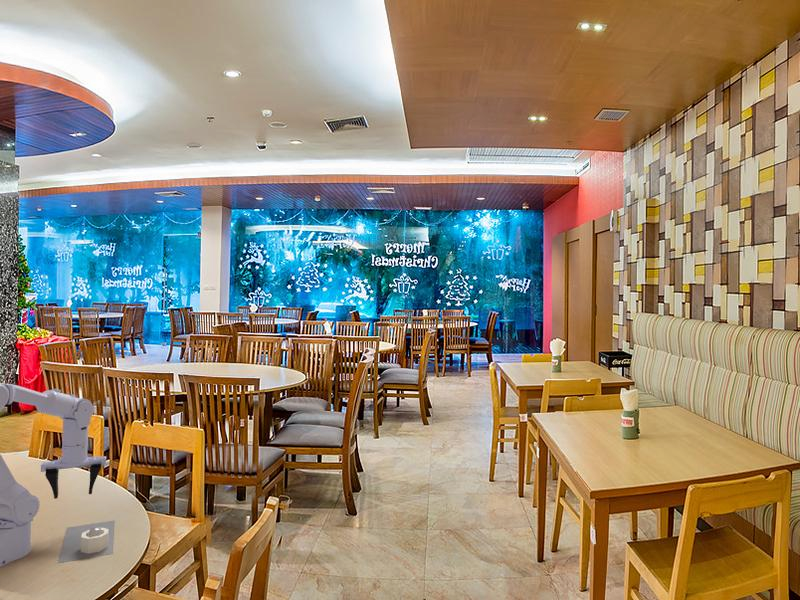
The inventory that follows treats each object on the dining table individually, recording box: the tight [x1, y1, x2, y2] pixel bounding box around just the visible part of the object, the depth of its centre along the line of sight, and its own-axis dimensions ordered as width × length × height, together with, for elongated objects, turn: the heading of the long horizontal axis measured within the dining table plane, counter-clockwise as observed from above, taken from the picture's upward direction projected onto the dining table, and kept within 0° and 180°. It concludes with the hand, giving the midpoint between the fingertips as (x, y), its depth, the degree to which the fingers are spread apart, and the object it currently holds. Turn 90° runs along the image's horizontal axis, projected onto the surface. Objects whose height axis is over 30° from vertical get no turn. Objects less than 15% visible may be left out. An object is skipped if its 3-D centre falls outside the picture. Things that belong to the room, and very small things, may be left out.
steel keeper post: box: [89, 527, 101, 537], centre depth 126 cm, size 2×2×4 cm
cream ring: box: [81, 528, 109, 554], centre depth 126 cm, size 6×6×4 cm
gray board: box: [57, 520, 116, 564], centre depth 130 cm, size 20×11×1 cm, turn 28°
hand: (73, 495), depth 137 cm, fingers open, 7 cm apart
